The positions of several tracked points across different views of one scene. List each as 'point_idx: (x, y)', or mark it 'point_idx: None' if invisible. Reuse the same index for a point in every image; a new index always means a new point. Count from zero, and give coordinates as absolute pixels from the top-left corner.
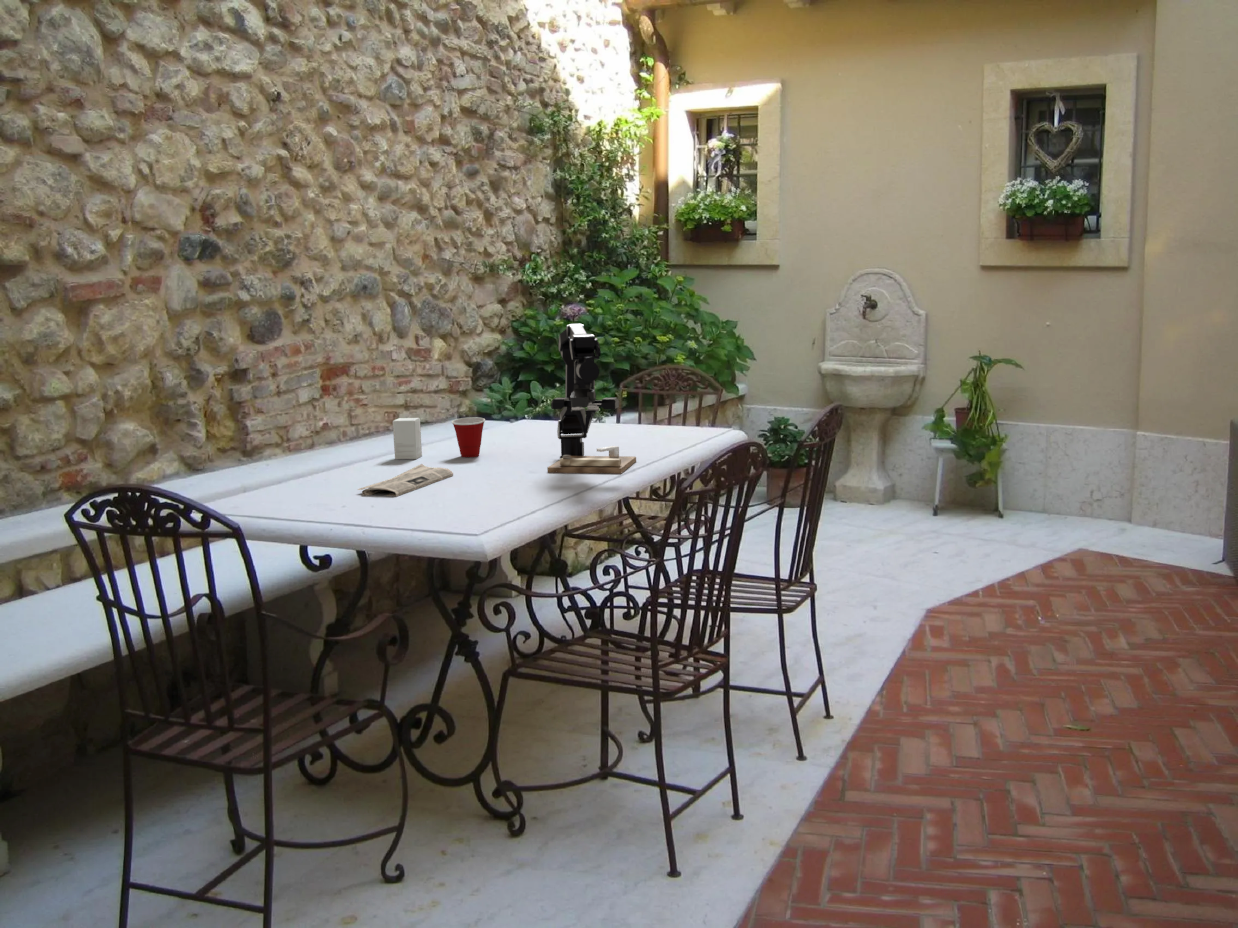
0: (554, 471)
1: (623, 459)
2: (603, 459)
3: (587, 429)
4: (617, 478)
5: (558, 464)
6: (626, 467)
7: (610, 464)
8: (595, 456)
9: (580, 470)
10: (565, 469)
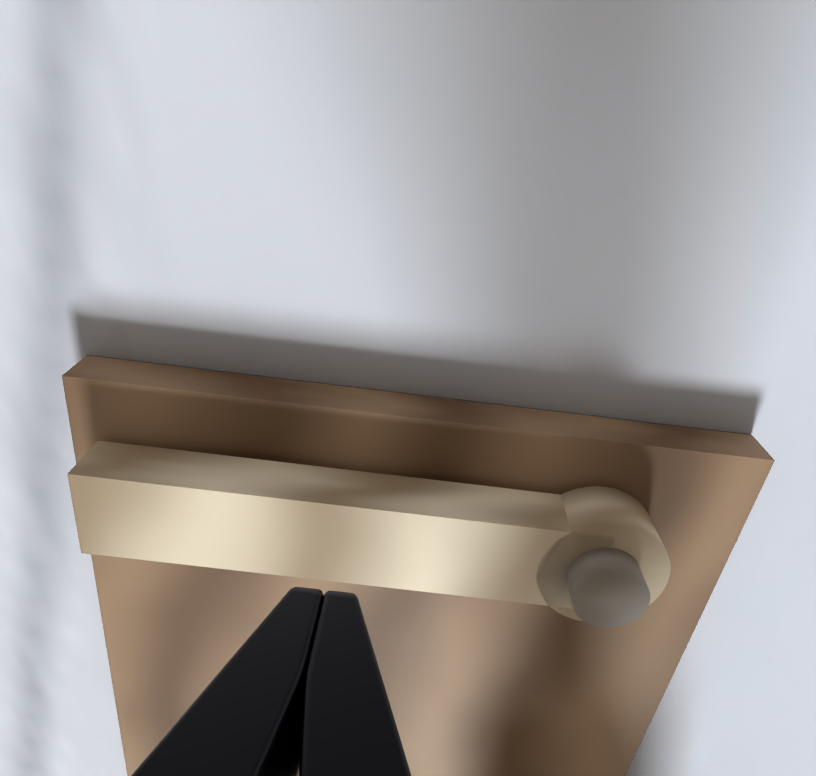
0: (693, 432)
1: None
2: (234, 517)
3: (241, 650)
4: (24, 71)
5: None
6: None
7: (173, 459)
8: None
9: (456, 409)
10: (597, 430)
